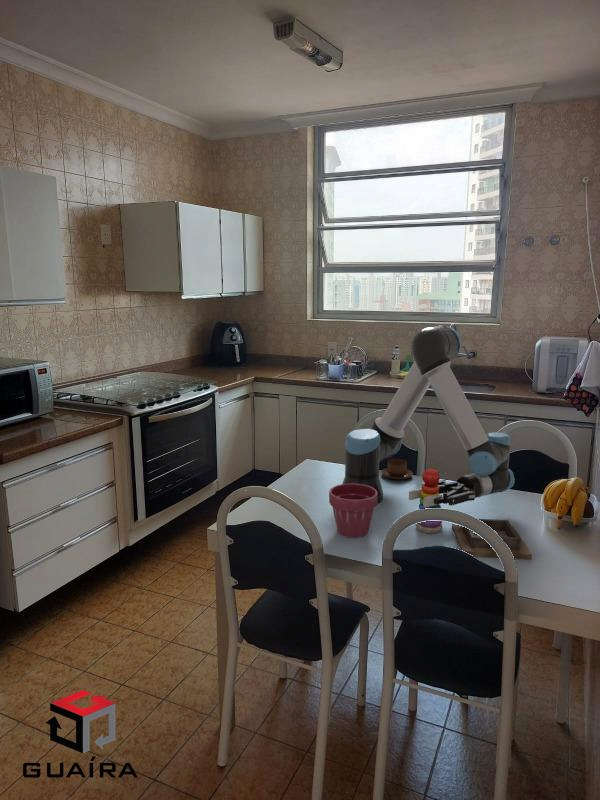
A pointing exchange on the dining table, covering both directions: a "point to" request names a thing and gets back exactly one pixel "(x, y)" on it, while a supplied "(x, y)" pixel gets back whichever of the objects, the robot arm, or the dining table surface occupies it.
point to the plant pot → (353, 508)
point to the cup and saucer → (397, 469)
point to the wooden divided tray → (482, 548)
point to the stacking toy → (429, 489)
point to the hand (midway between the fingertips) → (416, 498)
